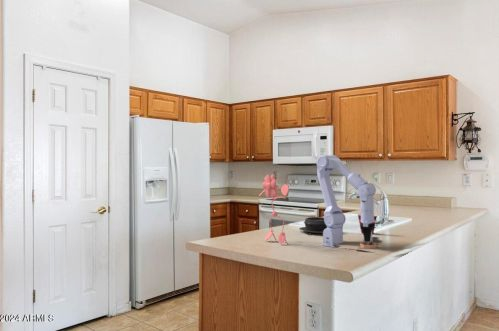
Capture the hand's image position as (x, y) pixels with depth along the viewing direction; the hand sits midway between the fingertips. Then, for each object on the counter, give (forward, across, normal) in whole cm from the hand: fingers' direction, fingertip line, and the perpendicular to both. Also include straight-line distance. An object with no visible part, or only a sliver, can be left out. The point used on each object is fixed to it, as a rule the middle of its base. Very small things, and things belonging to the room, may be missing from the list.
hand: (367, 240), depth 172 cm
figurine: (+5, +1, +47) cm, 48 cm away
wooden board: (+4, +8, 0) cm, 9 cm away
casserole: (+5, +40, +32) cm, 51 cm away
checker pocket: (+3, +15, 0) cm, 15 cm away
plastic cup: (+5, +38, +4) cm, 38 cm away
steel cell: (+2, 0, 0) cm, 2 cm away
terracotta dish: (+3, 0, 0) cm, 3 cm away
